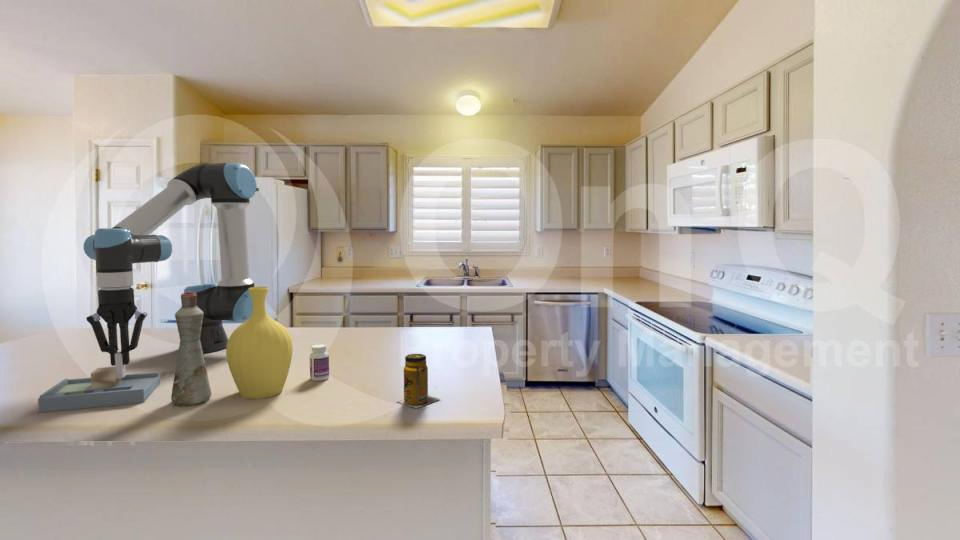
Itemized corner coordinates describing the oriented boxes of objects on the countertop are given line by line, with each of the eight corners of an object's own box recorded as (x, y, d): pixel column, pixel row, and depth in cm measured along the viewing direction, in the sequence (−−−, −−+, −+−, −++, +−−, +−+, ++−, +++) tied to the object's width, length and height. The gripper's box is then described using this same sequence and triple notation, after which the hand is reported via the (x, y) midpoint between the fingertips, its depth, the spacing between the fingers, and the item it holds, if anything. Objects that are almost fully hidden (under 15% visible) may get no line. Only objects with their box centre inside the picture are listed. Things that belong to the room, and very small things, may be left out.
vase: (279, 378, 143) (276, 282, 140) (304, 392, 131) (301, 288, 129) (219, 391, 131) (215, 287, 129) (240, 407, 120) (236, 293, 117)
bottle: (183, 410, 118) (178, 294, 115) (164, 403, 123) (158, 291, 120) (219, 399, 125) (214, 290, 122) (199, 393, 130) (194, 288, 127)
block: (121, 380, 132) (120, 366, 131) (115, 386, 127) (114, 371, 127) (98, 382, 130) (97, 368, 130) (91, 388, 125) (90, 373, 125)
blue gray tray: (159, 383, 137) (159, 370, 136) (144, 402, 123) (143, 387, 122) (66, 392, 129) (65, 378, 129) (39, 412, 115) (37, 397, 115)
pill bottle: (333, 376, 145) (332, 344, 144) (321, 382, 140) (321, 348, 139) (317, 374, 147) (317, 342, 146) (306, 380, 142) (305, 347, 141)
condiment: (396, 402, 125) (396, 356, 124) (421, 393, 131) (421, 349, 130) (416, 409, 120) (416, 361, 119) (440, 400, 127) (440, 354, 126)
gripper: (149, 285, 133) (153, 370, 135) (90, 287, 128) (96, 375, 131) (141, 288, 126) (146, 378, 128) (79, 290, 122) (85, 383, 124)
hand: (121, 376), depth 129 cm, fingers closed
